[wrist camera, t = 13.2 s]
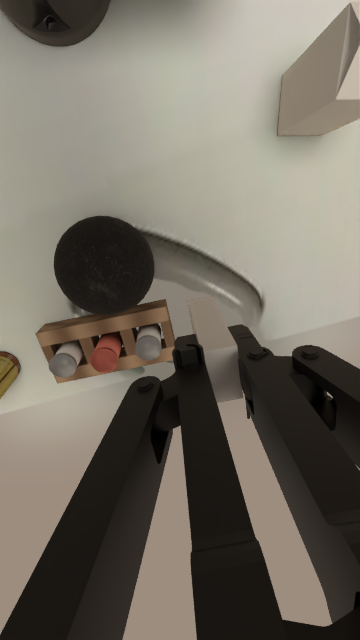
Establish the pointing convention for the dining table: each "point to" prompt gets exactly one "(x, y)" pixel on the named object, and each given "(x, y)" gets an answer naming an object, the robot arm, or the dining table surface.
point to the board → (102, 324)
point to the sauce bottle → (7, 371)
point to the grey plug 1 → (66, 359)
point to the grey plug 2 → (148, 342)
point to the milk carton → (324, 80)
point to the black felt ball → (104, 265)
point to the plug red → (107, 352)
